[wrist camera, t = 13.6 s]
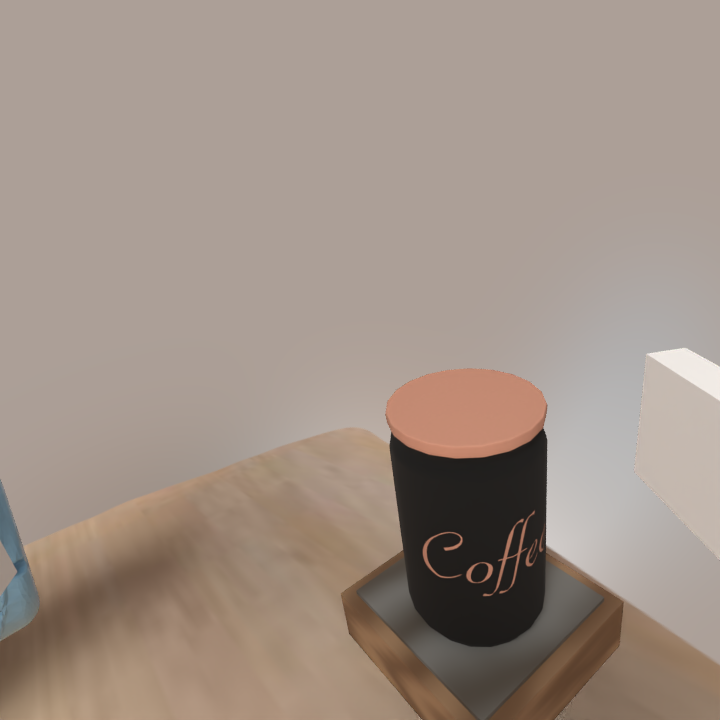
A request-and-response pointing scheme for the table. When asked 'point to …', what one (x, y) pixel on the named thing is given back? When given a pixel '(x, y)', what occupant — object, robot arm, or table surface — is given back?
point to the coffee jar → (472, 501)
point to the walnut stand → (486, 648)
